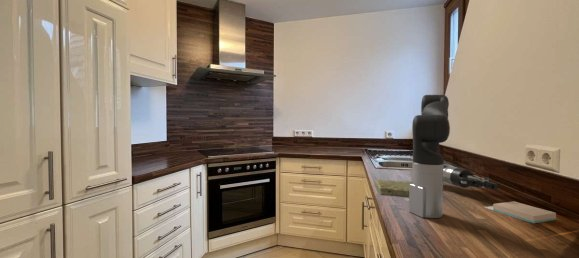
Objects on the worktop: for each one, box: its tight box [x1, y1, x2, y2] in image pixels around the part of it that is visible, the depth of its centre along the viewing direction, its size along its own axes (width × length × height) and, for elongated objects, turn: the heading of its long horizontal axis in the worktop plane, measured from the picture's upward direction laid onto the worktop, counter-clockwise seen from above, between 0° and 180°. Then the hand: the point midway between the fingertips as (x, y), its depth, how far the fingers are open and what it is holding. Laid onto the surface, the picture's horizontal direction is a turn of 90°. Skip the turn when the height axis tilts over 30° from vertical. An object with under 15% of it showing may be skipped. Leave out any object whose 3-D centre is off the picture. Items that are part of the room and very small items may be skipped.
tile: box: [492, 201, 557, 224], centre depth 87 cm, size 10×2×12 cm
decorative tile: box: [374, 179, 412, 198], centre depth 117 cm, size 19×20×4 cm
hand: (496, 186), depth 95 cm, fingers closed
